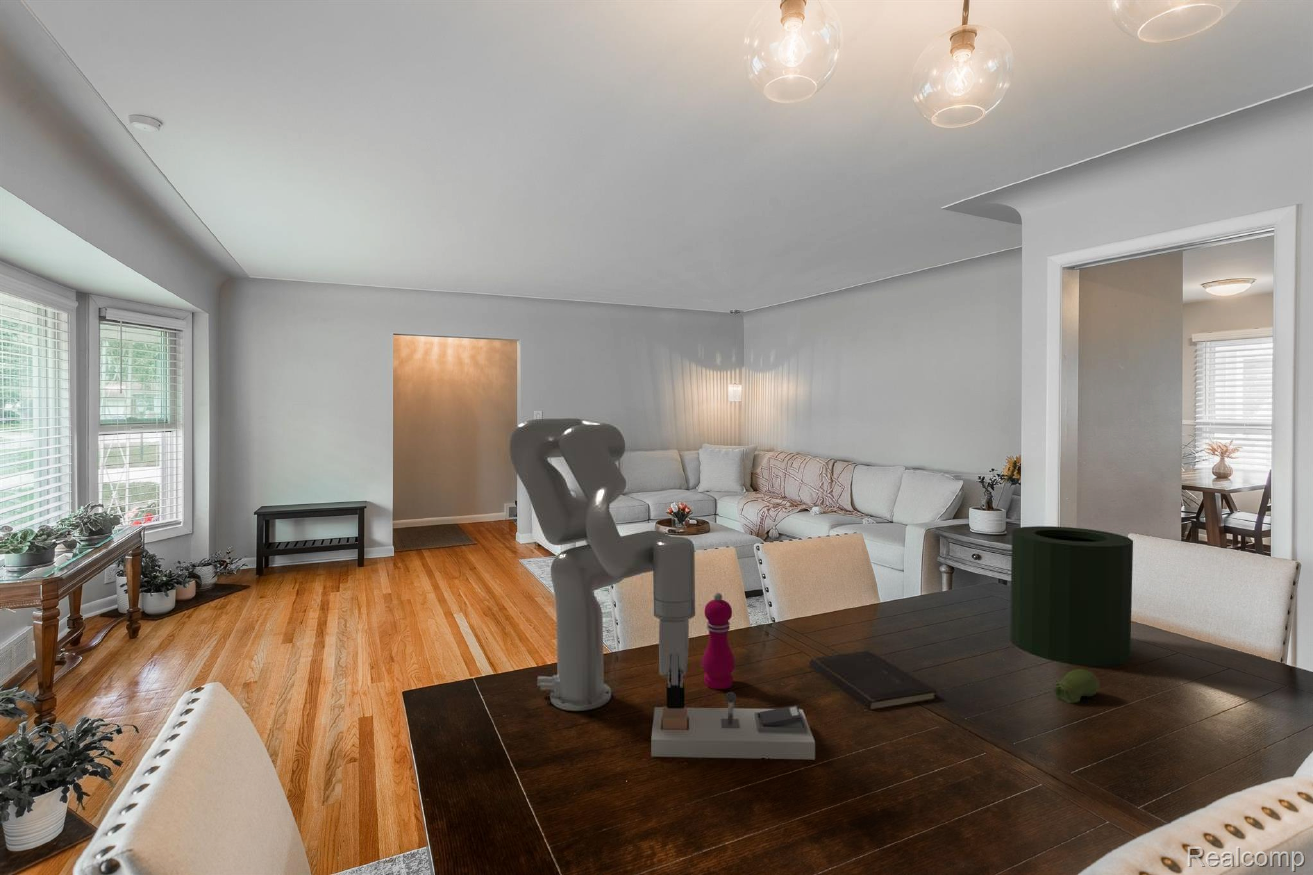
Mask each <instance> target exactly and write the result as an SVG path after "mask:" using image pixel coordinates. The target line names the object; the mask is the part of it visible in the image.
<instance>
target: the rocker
mask: <svg viewBox="0 0 1313 875" xmlns="http://www.w3.org/2000/svg"><path fill="white" fill-rule="evenodd" d="M772 709H773V710H768V711H763V712H759V713H760V717H761V722H762V726H763V727H778V726H784V725H789V724H794V723H799V722H802V718H801V715H800V712H799V709H800V708H799V707H798V705H797V704H796V705H790V706H785V707H778V708H772Z"/></svg>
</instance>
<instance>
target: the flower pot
mask: <svg viewBox="0 0 1313 875" xmlns="http://www.w3.org/2000/svg"><path fill="white" fill-rule="evenodd" d="M1133 558H1134V540H1133V539H1132V538H1130V537H1128V536H1125V535H1121V534H1118V533H1114V532H1109V531H1103V530H1097V529H1096V530H1095V529H1090V528H1080V527H1071V526H1054V525H1053V526H1051V525H1050V526H1049V525H1048V526H1047V525H1046V526H1045V525H1039V526H1038V525H1037V526H1036V525H1034V526H1023V527H1016V528H1014V529H1012V530H1011V558H1010V559H1011V560H1010V561H1011V568H1010V569H1011V570H1010V571H1011V572H1010V575H1011V576H1010V619H1009V620H1010V623H1009V624H1010V625H1009V628H1010V630H1009V632H1010V633H1009V634H1010V635H1009V638H1010V642H1011V643H1012V644H1013V645H1014V646H1016V647H1017V648H1018V649H1020V650H1022V651H1024V652H1026V653H1028V654H1030V655H1032V656H1033V655H1034V656H1036V657H1039V658H1042V659H1046V660H1048V661H1053V662H1058V663H1061V664H1066V665H1075V666H1082V667H1091V668H1092V667H1093V668H1094V667H1095V668H1110V667H1118V666H1122V665H1124V664H1127V663H1129V662H1130V659H1131V646H1132V645H1131V644H1132V643H1131V642H1132V641H1131V640H1132V637H1131V636H1132V605H1133V604H1132V602H1133V601H1132V600H1133V599H1132V598H1133V568H1134V567H1133V565H1134V564H1133V563H1134V562H1133V561H1134V559H1133Z"/></svg>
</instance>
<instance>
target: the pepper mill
mask: <svg viewBox="0 0 1313 875" xmlns="http://www.w3.org/2000/svg"><path fill="white" fill-rule="evenodd" d="M703 613H704V617H705V618H706V619H707V622H706V629H707V630H708V634H709V637H708V644H707V646H706V648H705V651H704V653H703V655H702V660H701V661H702V662H701V666H702V669H703V671H704V672H705V673H704V676H703V677H704V678H703V681H704V682H703V683H704V686H706V687H708V688H710V689H713V690H726V689H729V688H730V687H732V686H733V684H734V676H733V673H732V672H733V671H734V670H735V668H736V661H735V660H736V659H735V657H734V656H735V655H734V654H733V652H732V649H731V648H730V645H729V640H728V633H729V632H728V631H729V630H730V629H731V627H730V625H731V623H730V620H731V618H732V615H733V609H732V607H731V605H730V603H729V602H728V601H726V600H724V599H723V595H722V593H720V592H717V593H715V594H714V596H713V599H711V600H710V601H708V602H707V603H706V605H705V607H704V612H703Z"/></svg>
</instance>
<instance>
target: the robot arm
mask: <svg viewBox="0 0 1313 875" xmlns="http://www.w3.org/2000/svg"><path fill="white" fill-rule="evenodd" d="M625 451H626V442H625V438H624V435H623V433H621V432H620V430H619V429H618V428H617V427H615V426H614V425H612V424H610V423H603V422H599V421H595V420H594V421H592V420H588V419H583V418H567V417H565V418H536V419H530V420H526V421H523V422H521V423H520V424H518V425H517V426H516V427H515V428H514V429H513V430H512V433H511V436H510V440H509V456H510V461H511V464H512V465H513V468H514V470H515V472H516V475H518V476H517V477H518V478H519V479H520V481H521V483H522V484H523V486H524V488H525V490H526V493H527V494H528V497H529V500H530V503H531V506H532V509H533V512H534V515H535V516H536V517H535V518H536V519H537V521H538V525H539V527H540V529H541V532H542V534H543V536H544V539H545V540H546V541H547V542H548V544H551V545H554V546H563V545H570V544H574V543H579V542H585V543H586V544H584V545H583V544H582V545H578V546H574V547H571V548H568V549H565V550H563V551H561V552H560V553H558V554H557V555H556V556H555V557H554V559H553V560H552V563H551V566H550V577H551V578H550V579H551V583H552V588H553V592H554V598H555V599H554V600H555V613H556V654H557V655H556V656H557V657H556V660H557V661H556V662H557V663H556V666H557V671H556V672H557V674H553V675H552V676H546V675H545V676H544V675H543V676H542V675H538V677H537V681H536V682H537V683H536V685H537V687H540V688H539V689H540V690H541V691H547V690H548V691H550V690H551V692H550V695H549V696H550V697H549V698H550V702H551V704H552V705H554V706H555V707H556V708H558V709H561V710H564V711H572V712H581V711H589V710H593V709H597V708H600V707H602V706H604V705H605V704H607V703H608V702H609V700H611V697H612V690H611V687H610V686H609V685H608V684H606V683H604V622H603V620H604V618H603V617H604V616H603V610H602V607H601V605H600V603H599V601H598V600H597V598H596V595H595V591H597V590H600V589H604V588H606V587H610V586H613V585H616V584H619V583H620V582H622V581H623V580H624V579H628V578H631V577H634V576H635V577H636V576H638V575H642V574H647V573H651V572H652V577H653V578H652V581H653V582H652V586H653V587H652V588H653V590H652V591H653V592H652V593H653V616H654V617H655V619H657V620H659V622H658V674H659V675H660V676H661V677H663V676H666V675H667V682H666V706H667V708H669V709H683V708H684V707H686V706H685V705H686V704H685V702H686V701H685V700H686V699H685V698H686V697H685V682H684V676H685V675H686V674H687V671H688V670H687V669H688V659H689V647H690V646H689V642H690V641H689V640H690V635H689V634H690V630H689V629H690V626H689V624H690V623H689V622H690V621H689V620H690V619H692V618H695V616H696V570H695V568H696V567H695V566H696V564H695V562H696V557H695V556H696V555H695V553H696V552H695V544H694V543H693V541H692V540H691V539H689V538H687V537H683V536H671V535H669V534H666V533H664V532H661V531H657V530H645V531H641V532H636V533H632V534H627V535H626V534H625V535H621V534H620V532H619V529H618V527H617V525H616V522H615V520H614V517H613V516H612V515H613V514H612V513H611V511H610V505H611V504H612V503H614V502H615V501H616V500H617V499H618V498H620V497H621V495H622V494H623V493H624V491H625V490H626V487H627V480H626V478H625V476H624V475H623V473H622V472H621V470H620V469H619V467H618V465H617V463H616V462H618V461H620V460H621V459H622V457H623V456H624V454H625ZM549 458H550V459H551V458H563V459H564V461H565V463H566V465H567V466H568V469H569V470H570V472H571V473H572V475H573V477H574V479H575V481H576V482H577V484H578V486H579V488H580V490H581V492H582V493H583V495H584V496H579V497H575V496H574V495H573V494H572V493H571V491H570V488H569V486H568V483H567V480H566V478H565V477H564V476H563V474H562V473H561V471H560V470H558V468H556V467H555V466H554V464H552V463H551V462H549V460H548V459H549Z"/></svg>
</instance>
